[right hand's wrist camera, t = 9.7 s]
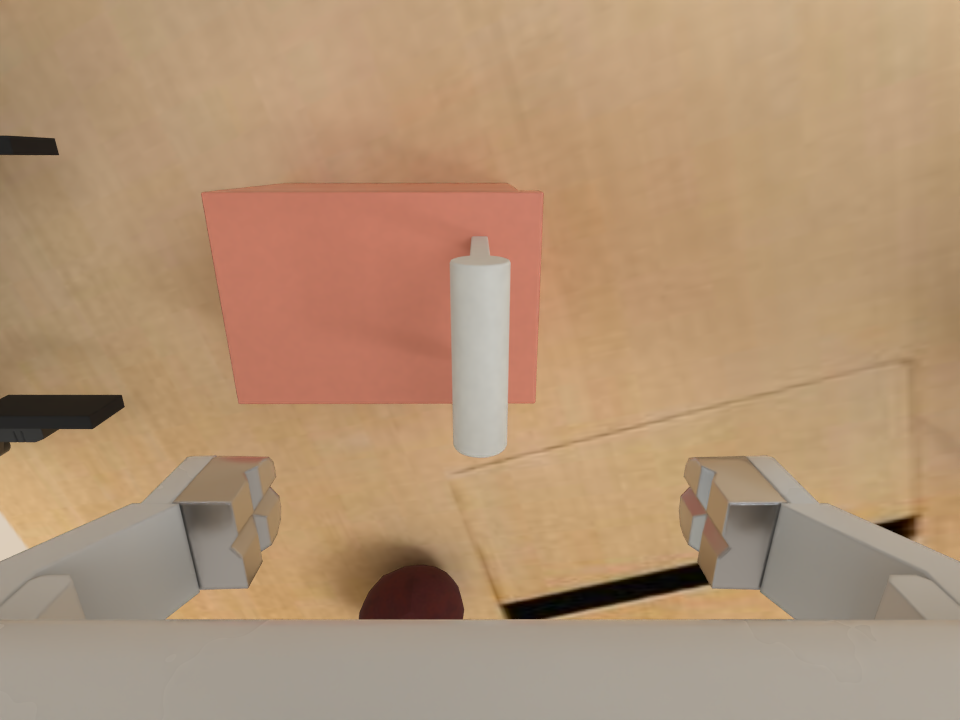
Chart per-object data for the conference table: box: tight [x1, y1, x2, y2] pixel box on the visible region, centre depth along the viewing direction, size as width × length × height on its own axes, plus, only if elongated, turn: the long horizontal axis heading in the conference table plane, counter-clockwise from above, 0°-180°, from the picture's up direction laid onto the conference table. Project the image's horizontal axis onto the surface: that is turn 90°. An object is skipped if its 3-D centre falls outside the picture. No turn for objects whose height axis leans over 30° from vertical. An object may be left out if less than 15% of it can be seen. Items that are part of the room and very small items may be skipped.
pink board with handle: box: [201, 191, 544, 458], centre depth 20 cm, size 14×10×9 cm
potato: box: [359, 565, 464, 620], centre depth 38 cm, size 7×8×7 cm
